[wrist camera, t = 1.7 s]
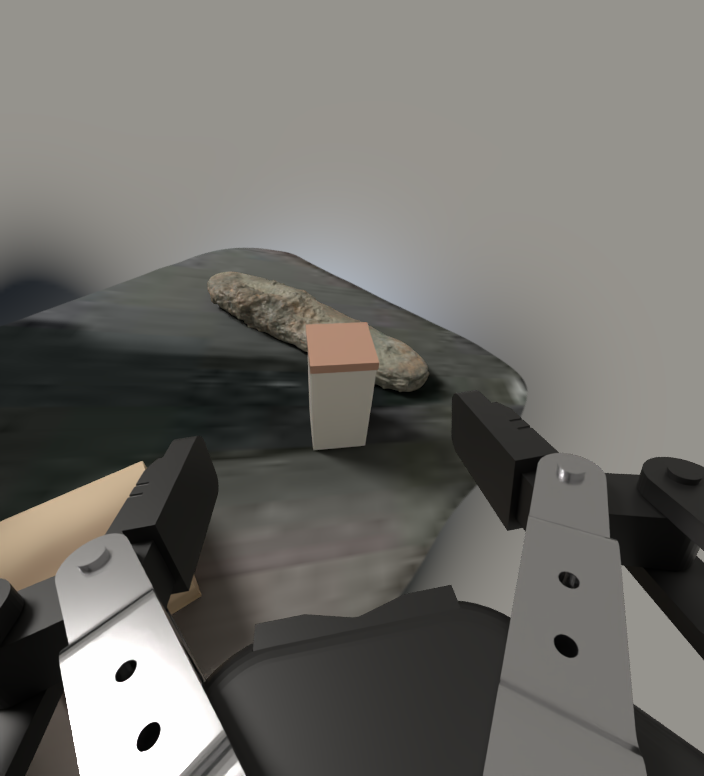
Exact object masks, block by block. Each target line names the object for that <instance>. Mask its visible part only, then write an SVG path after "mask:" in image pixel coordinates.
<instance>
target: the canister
mask: <svg viewBox="0 0 704 776" xmlns="http://www.w3.org/2000/svg"><path fill="white" fill-rule="evenodd" d="M306 338H307V348H308V376H309V406H310V420H311V430H312V441H313V450H321V449H332V448H343V447H354V446H365V443H366V436H367V430H368V423H369V417H370V410H371V403H372V397H373V390H374V384H375V377H376V371H377V370H378V368H379V360H378V357H377V353H376V350H375V347H374V344H373V340H372V337H371V334H370V331H369V328H368V324H367V322H361V323H334V324H307V325H306Z"/></svg>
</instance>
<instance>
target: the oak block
mask: <svg viewBox="0 0 704 776" xmlns="http://www.w3.org/2000/svg"><path fill="white" fill-rule="evenodd" d="M146 469H147V467H146V466H145V464H144V463H143V461H141V462H139V463H136V464H134V465H132V466H129V467H127V468H125V469H122V470H120V471H118V472H115V473H113V474H111V475H108V476H106V477H104V478H101V479H99V480H97V481H94V482H92V483H90V484H87V485H85V486H83V487H80V488H78V489H76V490H73V491H71V492H69V493H66V494H64V495H62V496H59V497H57V498H55V499H52V500H50V501H48V502H45V503H43V504H41V505H38V506H36V507H34V508H31V509H29V510H27V511H24V512H22V513H20V514H17V515H15V516H13V517H10V518H8V519H6V520H3V521H1V522H0V578H2V579H6V580H7V581H9V583H10V584H11V585H12V586H13V587H14V588H15V590H16V591H19V590H21V589H24V588H26V587H29V586H31V585H34V584H36V583H38V582H41V581H43V580H46V579H48V578H50V577H53V576H55V575H56V573H57V571H58V569H59V567H60V566H61V564H62V563H63V562H64V561H65V559H66V558H67V557H68V556H69V555H70V554H72V553H73V552H74V551H75V550H76V549H78V548H79V547H81V546H82V545H84V544H85V543H87V542H89V541H91V540H93V539H95V538H97V537H100V536H103V535H105V534H106V532H107V530H108V529H109V527H110V526H111V524H112V522H113V521H114V519H115V517H116V516H117V514H118V513H119V511H120V509H121V508H122V506H123V504H124V503H125V501H126V500H127V498H129V497H130V496H129V495H130V493H131V491H132V490H133V488H134V487H136V483H137V482H138V480H139V478H140V477H141V475H142V473H143V472H144V471H145V470H146ZM201 596H202V595H201V592H200V589H199V587H198V584H197V581H196V578H195V576H193V579H192V582H191V586H190V589H189V591H187V592H182V593H176V594H171V596H170V599H169V602H168V605H167V608H168V610H169V611H170V613H171V615H172V614H173V613H175V612H176V611H178V610H180V609H181V608H183V607H185V606H186V605H188V604H189V603H191V602H193V601H194V600H196V599H197V598H199V597H201Z"/></svg>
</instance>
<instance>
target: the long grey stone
mask: <svg viewBox="0 0 704 776" xmlns="http://www.w3.org/2000/svg"><path fill="white" fill-rule="evenodd" d="M207 285H208V292H209V294H210V295H211V301H212V302H213V303H214V304H218V305H219V306H220V307H221V308H222V309H225V310H226V311H228V312H229V313H230V314H231V315H234V316H235V317H237V318H238V319H240V320H243V321H244V323H245V324H248V326H247V327H248V328H256V329H257V330H258V331H259V332H266V333H268V334H270V335H271V336H273V337H275V338H277V339H279V340H283V342H287V343H290V344H294V345H296V346H297V347H298V348H300V349H302V350H303V351H305V352H308V348H307V338H306V325H307V324H334V323H361V322H360V321H358V320H354V319H352V318H350V317H348V316H346V315H344V314H342V313H340V312H338V311H336V310H334V309H332V308H331V307H329V306H326V305H324V304H322V303H320V302H318V301H316V299H315V298H314V297H313V296H311V295H310V294H308V293H307V292H306V291H304V290H299V289H295V288H293V287H289V286H286V285H285V284H284V283H283V284H282V283H279V282H277V281H275V280H272V281H270V280H267V279H264V278H260V277H256V276H252V275H248V274H242V273H237V272H224V273H219V274H216V275H215V276H212V277H211V278H210V280H209V281H208V283H207ZM368 328H369V331H370V334H371V337H372V340H373V344H374V347H375V350H376V353H377V357H378V360H379V368H378V370H377V371H376V377H375V384H377V385H379V386H381V387H382V388H383V389H388V388H389V389H393V390H397V391H399V392H402V391H403V392H411V391H413V390H417V389H418V388H420V387H422V385H423V384H424V383H425V381H426V380H427V378H428V376H429V372H428V366H427V364H426V362H425V361H424V360H423V359H422V358H421V357H420V356H419V355H418V354H417V353H416V352H415V351H414V350H413V349H412V348H411V347H409V346H408V345H407V344H405V343H403V342H401V341H399V340H397V339H395V338H391V337H389V336H387V335H385V334H383V333H381V332H380V331H377V330H376V329H374V328H373V327H371V326H369V325H368Z"/></svg>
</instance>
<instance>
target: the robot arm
mask: <svg viewBox="0 0 704 776" xmlns="http://www.w3.org/2000/svg"><path fill="white" fill-rule="evenodd" d="M452 441H453V445H454V448H455V451H456V453H457V454H458V456H459V457H460V459H461V460H462V462H463V463H464V465H465V467H466V468H467V470H468V471H469V473H470V474H471V476H472V477H473V479H474V480H475V482H476V483H477V485H478V486H479V488H480V490H481V491H482V493H483V494H484V496H485V497H486V499H487V500H488V502H489V503H490V505H491V506H492V508H493V509H494V511H495V512H496V514H497V516H498V517H499V519H500V520H501V522H502V523H503V525H504V526H505V528H506V529H507V531H508V530H514V529H519V528H523V529H524V530H525V532H526V533H525V539H524V545H523V551H522V556H521V562H520V568H519V573H518V579H517V585H516V591H515V596H514V602H513V608H512V614H511V618H510V617H508V616H506V615H505V614H503V613H501V612H498V611H496V610H494V609H491V608H489V607H485V606H482V605H479V604H475V603H470V602H465V601H458V600H457V598H456V596H455V593H454V591H453V588H452V586H451V585H448V586H444V587H438V588H433V589H429V590H423V591H418V592H413V593H408V594H404V595H402V596H400V597H398V598H396V599H394V600H392V601H390V602H388V603H386V604H384V605H382V606H380V607H378V608H376V609H374V610H372V611H370V612H368V613H366V614H364V615H362V616H359V617H353V618H351V617H336V616H322V615H307V614H304V615H299V616H294V617H289V618H284V619H279V620H274V621H269V622H264V623H259V624H255V633H254V642H253V643H252V644H250V645H248V646H246V647H245V648H243V649H242V650H240V651H239V652H237V653H235V654H234V655H233V656H232V657H230V658H229V659H228V660H226V661H225V662H224V663H223V664H222V665H221V666H219V667H218V668H217V669H216V670H215V671H214V672H213V673H212V674H211V675H210V676H209V677H208V679H207V680H206V679H205V677H204V676H203V674H202V672H201V670H200V668H199V666H198V665H197V663H196V661H195V659H194V657H193V655H192V653H191V651H190V649H189V647H188V645H187V644H186V642H185V640H184V638H183V636H182V634H181V632H180V630H179V628H178V626H177V625H176V623H175V621H174V619H173V617H172V615H171V613H170V611H169V610H168V608H167V605H168V602H169V599H170V596H171V594H176V593H182V592H187V591H189V589H190V586H191V582H192V579H193V576H194V572H195V569H196V566H197V562H198V559H199V556H200V552H201V549H202V546H203V542H204V539H205V535H206V532H207V529H208V525H209V522H210V519H211V515H212V512H213V509H214V505H215V502H216V499H217V495H218V478H217V474H216V471H215V469H214V466H213V463H212V460H211V458H210V455H209V452H208V450H207V447H206V444H205V442H204V440H203V438H202V437H201V436H194V437H188V438H182V439H176V440H174V441H173V442H172V443H171V445H170V447H169V448H168V450H167V452H166V454H165V455H164V457H163V458H160V459H157V460H156V461H155V462H154V463H153V464H151V465H150V466H149V467H148V468H147V469H146V470H145V471H144V472H143V473H142V475H141V477H140V478H139V480H138V482H137V483H136V487H134V488H133V490H132V491H131V493H130V495H129V496H130V497H129V498H127V500H126V501H125V503H124V504H123V506H122V508H121V509H120V511H119V513H118V514H117V516H116V517H115V519H114V521H113V522H112V524H111V526H110V527H109V529H108V530H107V532H106V534H105V535H103V536H100V537H97V538H95V539H93V540H91V541H89V542H87V543H85V544H84V545H82V546H81V547H79V548H78V549H76V550H75V551H74V552H73V553H72V554H70V555H69V556H68V557H67V558H66V559H65V561H64V562H63V563H62V564H61V566H60V567H59V569H58V571H57V573H56V575H55V576H53V577H50V578H48V579H46V580H43V581H41V582H38V583H36V584H34V585H31V586H29V587H26V588H24V589H21V590H19V591H16V590H15V588H14V587H13V586H12V585H11V584H10V583H9V581H7V580H6V579H2V578H0V776H25V775H26V773H27V770H28V768H29V766H30V764H31V761H32V759H33V757H34V755H35V753H36V750H37V748H38V746H39V744H40V742H41V739H42V737H43V735H44V733H45V730H46V728H47V726H48V724H49V722H50V719H51V717H52V715H53V713H54V711H55V708H56V706H57V704H58V702H59V699H60V697H61V695H62V693H63V691H64V690H65V695H66V700H67V706H68V711H69V716H70V722H71V727H72V732H73V738H74V743H75V748H76V754H77V759H78V764H79V770H80V775H81V776H704V754H703V753H702V752H701V751H699V750H698V749H696V748H695V747H694V746H692V745H690V744H689V743H688V742H686V741H685V740H684V739H682V738H681V737H679V736H678V735H676V734H675V733H674V732H672V731H671V730H669V729H668V728H667V727H665V726H664V725H662V724H661V723H660V722H658V721H657V720H655V719H654V718H652V717H651V716H650V715H648V714H647V713H645V712H644V711H643V710H641V709H640V708H638V707H637V706H635V705H634V704H633V697H632V685H631V674H630V663H629V651H628V640H627V628H626V616H625V605H624V595H623V594H624V593H623V582H622V571H621V565H624V566H625V567H626V568H627V570H628V571H629V572H630V573H631V574H632V575H633V577H634V578H635V579H636V580H637V581H638V583H639V584H640V585H641V586H642V587H643V588H644V590H645V591H646V592H647V593H648V594H649V596H650V597H651V598H652V599H653V600H654V602H655V603H656V604H657V605H658V606H659V607H660V609H661V610H662V611H663V612H664V613H665V615H666V616H667V617H668V618H669V619H670V620H671V622H672V623H673V624H674V625H675V626H676V628H677V629H678V630H679V631H680V632H681V634H682V635H683V636H684V637H685V638H686V639H687V641H688V642H689V643H690V644H691V645H692V647H693V648H694V649H695V650H696V651H697V653H698V654H699V655H700V656H701V657H702V658H703V660H704V562H702V560H700V559H699V558H698V557H697V556H696V555H697V553H698V551H699V549H700V548H701V549H702V550H703V551H704V467H702V466H700V465H698V464H695V463H693V462H690V461H686V460H682V459H677V458H671V457H656V458H652V459H649V460H647V461H646V462H645V463H644V464H643V467H642V470H641V473H640V475H631V474H612V473H610V474H609V473H604V472H603V470H602V469H601V468H600V467H599V466H598V465H596V464H595V463H593V462H592V461H590V460H588V459H585V458H583V457H580V456H577V455H573V454H567V453H559V452H558V451H557V450H556V449H554V448H553V447H552V446H551V445H550V444H549V443H548V442H547V441H546V440H545V439H544V438H542V437H541V436H540V435H539V434H538V433H537V432H536V431H535V430H534V429H533V428H530V425H528V424H527V423H526V422H525V421H524V420H522V419H521V417H520V416H519V415H518V414H517V413H515V412H514V411H513V410H512V409H511V408H509V407H506V406H504V405H502V404H500V403H498V402H493V403H491V402H490V401H489V400H488V399H487V398H486V397H485V396H484V395H483V394H482V393H481V392H480V391H479V390H473V391H467V392H461V393H455V394H454V395H453V397H452Z"/></svg>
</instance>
